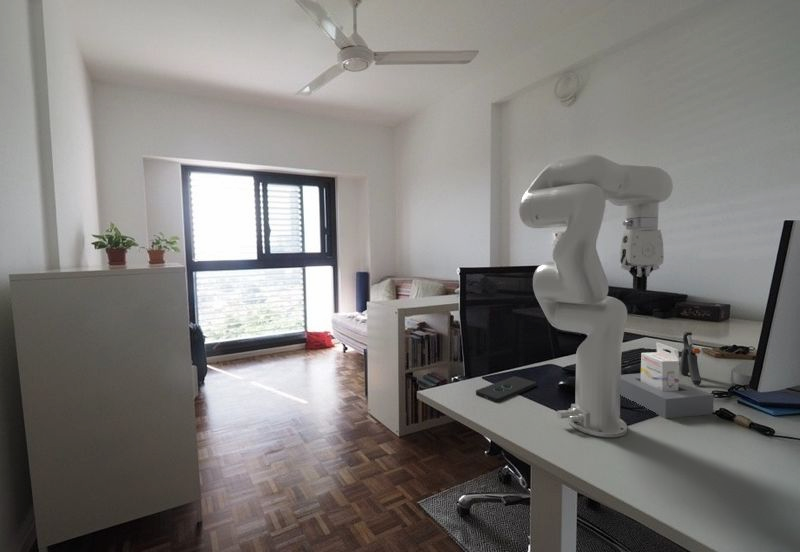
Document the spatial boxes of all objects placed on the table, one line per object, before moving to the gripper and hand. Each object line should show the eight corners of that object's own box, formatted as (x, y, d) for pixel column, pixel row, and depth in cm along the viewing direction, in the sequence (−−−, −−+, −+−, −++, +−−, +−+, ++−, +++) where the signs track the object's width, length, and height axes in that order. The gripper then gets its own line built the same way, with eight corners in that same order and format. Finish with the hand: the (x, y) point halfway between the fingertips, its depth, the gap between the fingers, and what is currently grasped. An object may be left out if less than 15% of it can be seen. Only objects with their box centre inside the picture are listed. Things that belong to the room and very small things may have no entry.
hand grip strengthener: (693, 386, 114) (695, 338, 113) (679, 373, 126) (680, 329, 125) (702, 387, 113) (704, 338, 112) (687, 374, 125) (688, 330, 124)
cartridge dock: (665, 418, 93) (665, 399, 92) (613, 391, 111) (613, 375, 110) (712, 413, 95) (713, 394, 95) (654, 388, 113) (654, 372, 112)
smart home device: (474, 390, 110) (514, 375, 123) (474, 395, 110) (514, 380, 123) (497, 398, 104) (537, 382, 116) (497, 404, 104) (537, 387, 116)
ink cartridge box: (638, 392, 107) (640, 342, 106) (655, 391, 108) (656, 341, 107) (661, 404, 99) (663, 350, 98) (679, 403, 99) (681, 349, 98)
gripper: (626, 224, 99) (624, 292, 100) (677, 224, 101) (674, 291, 102) (607, 226, 107) (606, 289, 108) (655, 226, 108) (653, 289, 109)
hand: (639, 290), depth 105 cm, fingers closed
